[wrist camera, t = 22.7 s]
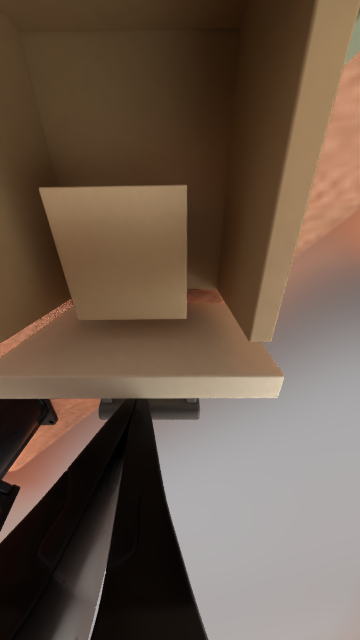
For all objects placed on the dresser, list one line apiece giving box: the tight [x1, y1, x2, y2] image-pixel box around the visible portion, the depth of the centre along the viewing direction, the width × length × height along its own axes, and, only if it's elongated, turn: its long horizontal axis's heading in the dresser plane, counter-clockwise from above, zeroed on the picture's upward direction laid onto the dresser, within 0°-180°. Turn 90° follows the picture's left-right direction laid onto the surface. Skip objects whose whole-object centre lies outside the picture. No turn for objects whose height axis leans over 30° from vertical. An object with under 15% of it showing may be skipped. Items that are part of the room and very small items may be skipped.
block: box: [39, 185, 187, 320], centre depth 8 cm, size 4×4×4 cm
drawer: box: [0, 0, 360, 420], centre depth 8 cm, size 18×11×7 cm, turn 0°
